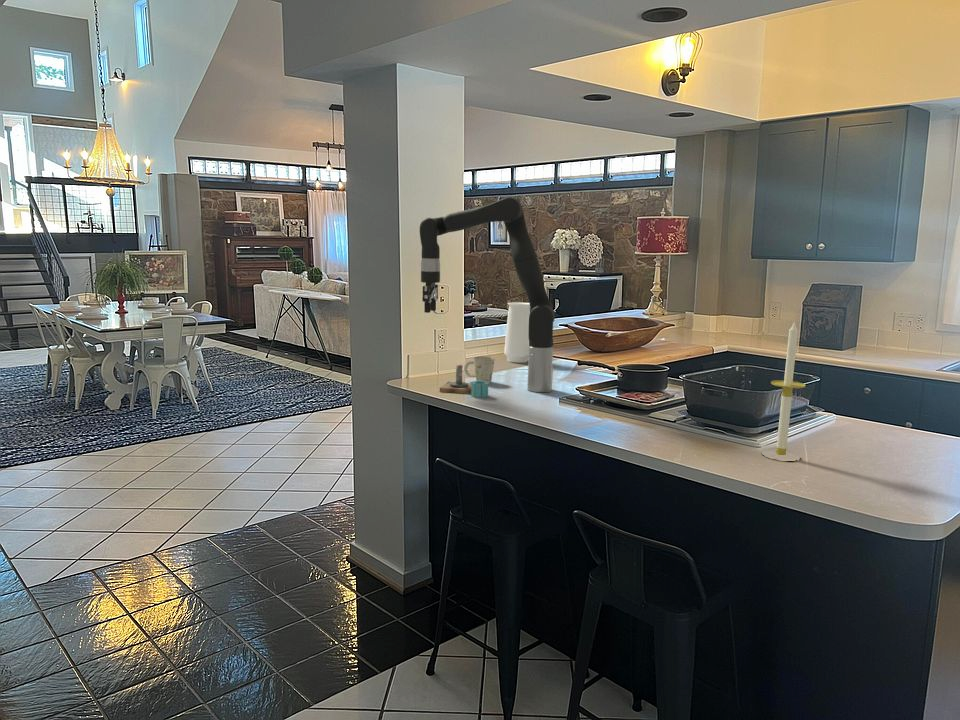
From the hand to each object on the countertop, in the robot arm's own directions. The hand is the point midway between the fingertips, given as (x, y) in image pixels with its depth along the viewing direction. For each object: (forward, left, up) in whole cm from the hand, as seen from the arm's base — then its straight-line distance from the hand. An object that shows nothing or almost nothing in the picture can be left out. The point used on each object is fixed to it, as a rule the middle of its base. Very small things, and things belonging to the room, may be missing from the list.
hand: (430, 311), depth 265 cm
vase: (-25, -63, -29) cm, 74 cm away
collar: (-24, +17, -29) cm, 41 cm away
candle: (-119, +64, -29) cm, 138 cm away
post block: (-14, +9, -29) cm, 33 cm away
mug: (-18, -8, -29) cm, 35 cm away
